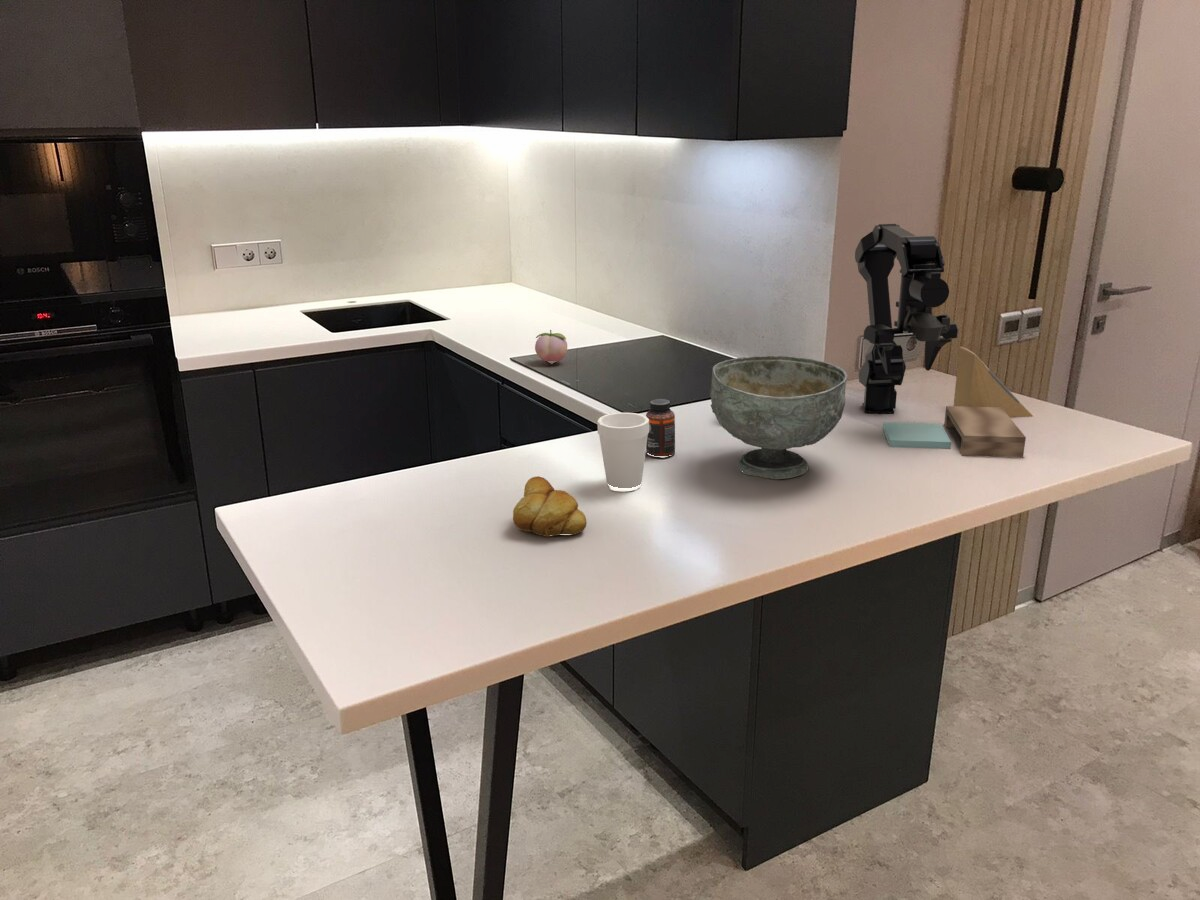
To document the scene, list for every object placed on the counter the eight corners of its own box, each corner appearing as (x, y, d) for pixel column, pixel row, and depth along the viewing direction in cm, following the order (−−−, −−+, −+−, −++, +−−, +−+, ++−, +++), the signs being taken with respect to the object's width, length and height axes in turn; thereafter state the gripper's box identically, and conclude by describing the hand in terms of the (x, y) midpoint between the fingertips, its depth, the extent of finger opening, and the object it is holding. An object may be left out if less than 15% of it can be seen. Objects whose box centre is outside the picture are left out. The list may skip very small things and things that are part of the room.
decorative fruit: (572, 361, 266) (570, 326, 263) (564, 368, 259) (563, 333, 255) (540, 360, 268) (539, 326, 265) (532, 367, 261) (530, 332, 257)
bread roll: (597, 528, 158) (596, 484, 155) (563, 549, 150) (561, 504, 148) (537, 512, 165) (535, 470, 162) (502, 532, 157) (499, 488, 155)
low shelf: (962, 455, 186) (964, 435, 185) (944, 424, 205) (946, 406, 203) (1023, 457, 184) (1025, 437, 183) (999, 425, 203) (1001, 407, 202)
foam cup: (613, 499, 170) (612, 431, 165) (590, 482, 177) (588, 417, 173) (658, 488, 174) (658, 422, 169) (634, 473, 181) (633, 409, 177)
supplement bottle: (679, 451, 193) (679, 398, 189) (669, 460, 188) (669, 407, 184) (652, 448, 195) (652, 396, 191) (641, 457, 190) (641, 404, 186)
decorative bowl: (762, 434, 200) (765, 344, 192) (869, 464, 183) (876, 367, 175) (681, 472, 183) (681, 374, 175) (790, 509, 166) (795, 403, 158)
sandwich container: (1035, 417, 208) (1044, 352, 203) (967, 420, 208) (975, 354, 203) (1017, 406, 216) (1026, 343, 211) (952, 408, 216) (959, 345, 211)
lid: (889, 449, 192) (890, 440, 192) (882, 430, 203) (883, 422, 203) (950, 451, 190) (951, 442, 190) (939, 432, 202) (940, 423, 201)
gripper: (891, 308, 183) (885, 385, 188) (977, 302, 186) (969, 378, 191) (865, 298, 193) (859, 371, 198) (947, 293, 196) (940, 365, 202)
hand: (907, 371), depth 197 cm, fingers open, 9 cm apart
